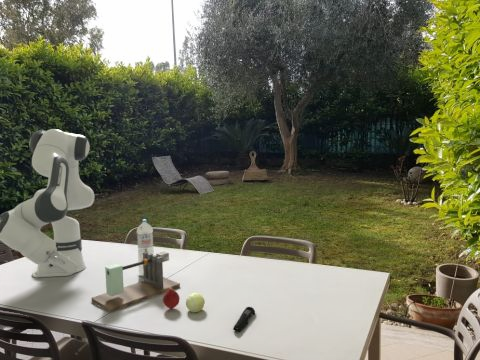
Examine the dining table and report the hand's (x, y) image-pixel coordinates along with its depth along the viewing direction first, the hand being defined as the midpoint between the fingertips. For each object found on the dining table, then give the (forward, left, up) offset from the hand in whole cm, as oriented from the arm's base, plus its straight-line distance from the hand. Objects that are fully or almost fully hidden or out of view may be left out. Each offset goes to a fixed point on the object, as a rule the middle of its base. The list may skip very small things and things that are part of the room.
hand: (73, 270), depth 136 cm
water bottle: (+26, +34, -16) cm, 46 cm away
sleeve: (+13, +8, -13) cm, 20 cm away
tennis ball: (+40, -9, -16) cm, 45 cm away
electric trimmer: (+54, -23, -17) cm, 61 cm away
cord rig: (+21, +12, -16) cm, 30 cm away
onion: (+32, -5, -16) cm, 37 cm away
